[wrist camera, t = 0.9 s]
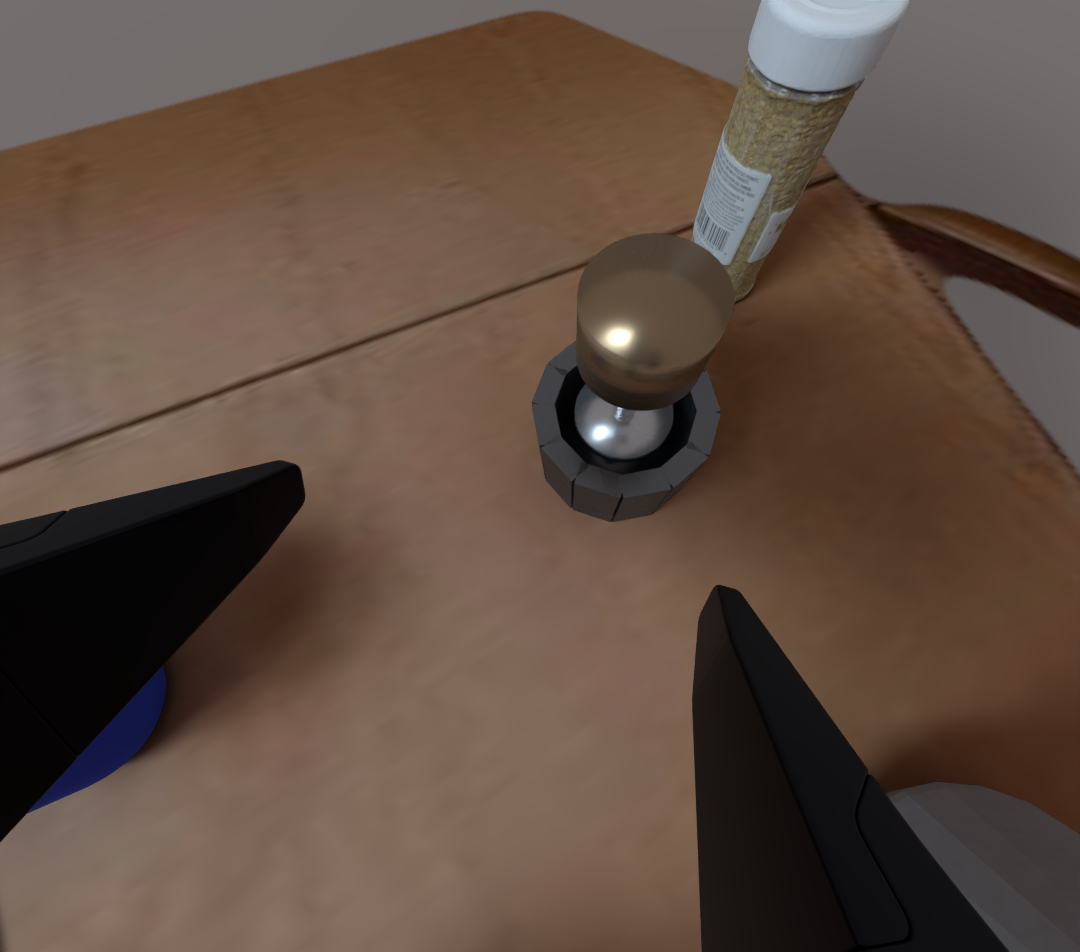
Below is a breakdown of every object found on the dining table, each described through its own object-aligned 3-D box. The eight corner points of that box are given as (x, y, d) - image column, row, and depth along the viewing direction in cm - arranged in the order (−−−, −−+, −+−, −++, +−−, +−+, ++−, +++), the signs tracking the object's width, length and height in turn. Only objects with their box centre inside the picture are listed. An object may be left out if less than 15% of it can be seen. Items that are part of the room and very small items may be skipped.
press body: (666, 540, 23) (691, 521, 18) (520, 492, 24) (508, 461, 19) (713, 373, 25) (746, 317, 21) (579, 336, 27) (581, 276, 22)
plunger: (655, 474, 20) (713, 381, 12) (561, 445, 20) (556, 338, 13) (681, 389, 21) (749, 252, 13) (591, 364, 22) (603, 219, 14)
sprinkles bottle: (762, 301, 27) (942, 10, 14) (687, 315, 27) (796, 38, 14) (740, 241, 28) (884, -74, 15) (668, 254, 28) (751, -49, 15)
